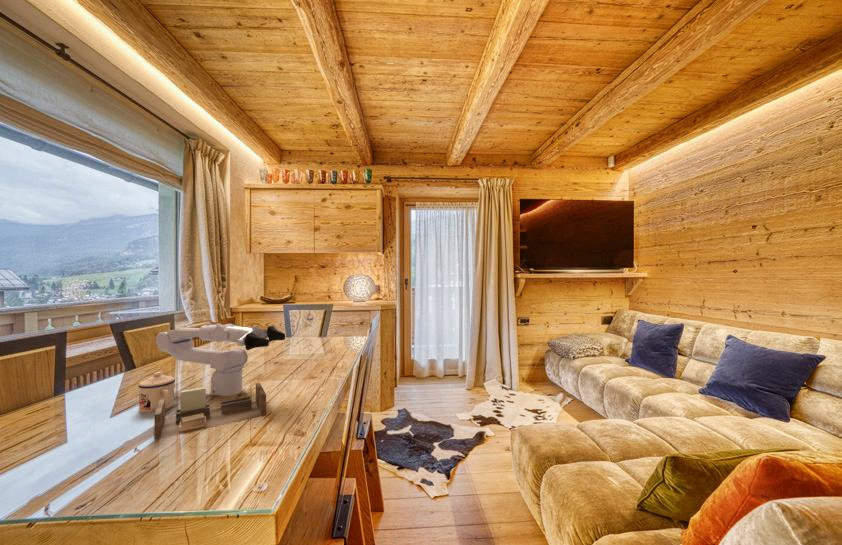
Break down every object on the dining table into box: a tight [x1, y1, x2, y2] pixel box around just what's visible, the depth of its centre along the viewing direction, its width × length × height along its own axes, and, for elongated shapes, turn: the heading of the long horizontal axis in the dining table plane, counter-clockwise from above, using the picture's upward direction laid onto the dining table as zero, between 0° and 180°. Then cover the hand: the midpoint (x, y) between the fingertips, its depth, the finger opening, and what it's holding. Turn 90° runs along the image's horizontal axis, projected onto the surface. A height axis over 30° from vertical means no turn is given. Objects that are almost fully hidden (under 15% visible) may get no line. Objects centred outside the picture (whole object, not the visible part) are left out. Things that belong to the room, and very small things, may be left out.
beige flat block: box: [180, 386, 207, 412], centre depth 96 cm, size 2×6×8 cm, turn 124°
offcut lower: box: [179, 417, 206, 432], centre depth 90 cm, size 4×6×1 cm, turn 124°
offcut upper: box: [181, 413, 205, 427], centre depth 90 cm, size 3×5×1 cm
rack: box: [153, 382, 267, 440], centre depth 96 cm, size 14×26×7 cm, turn 124°
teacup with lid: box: [137, 371, 176, 413], centre depth 104 cm, size 12×9×12 cm
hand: (276, 339), depth 111 cm, fingers open, 7 cm apart
